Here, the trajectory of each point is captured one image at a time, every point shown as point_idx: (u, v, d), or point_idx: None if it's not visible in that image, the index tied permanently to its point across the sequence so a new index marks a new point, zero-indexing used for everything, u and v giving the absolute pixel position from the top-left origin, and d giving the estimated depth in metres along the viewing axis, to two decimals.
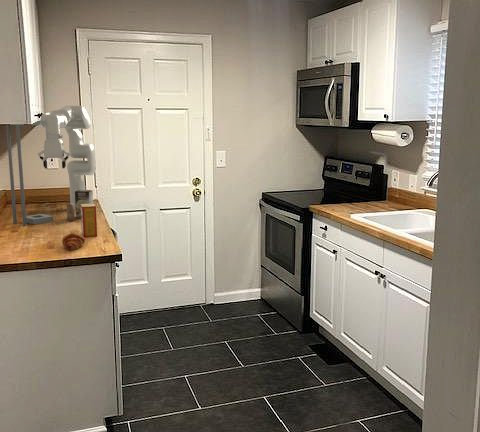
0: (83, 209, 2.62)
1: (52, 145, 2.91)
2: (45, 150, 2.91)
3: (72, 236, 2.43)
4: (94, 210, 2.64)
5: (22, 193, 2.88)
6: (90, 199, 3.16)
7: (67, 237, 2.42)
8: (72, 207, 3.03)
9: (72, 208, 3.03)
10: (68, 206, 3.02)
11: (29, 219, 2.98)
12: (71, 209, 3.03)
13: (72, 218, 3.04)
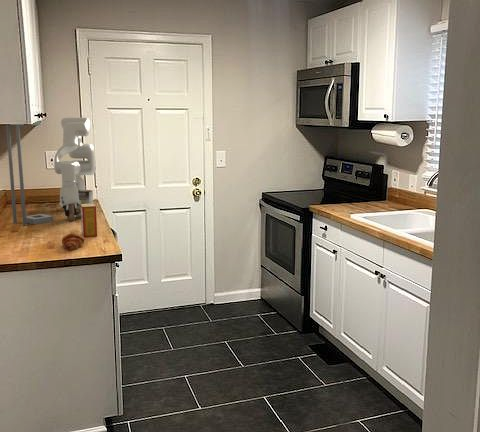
0: (83, 209, 2.62)
1: (72, 192, 3.01)
2: (66, 197, 2.99)
3: (71, 236, 2.43)
4: (94, 210, 2.64)
5: (22, 193, 2.88)
6: (90, 199, 3.16)
7: (66, 237, 2.42)
8: (72, 207, 3.03)
9: (72, 208, 3.03)
10: (68, 206, 3.02)
11: (29, 219, 2.98)
12: (71, 209, 3.03)
13: (72, 218, 3.04)
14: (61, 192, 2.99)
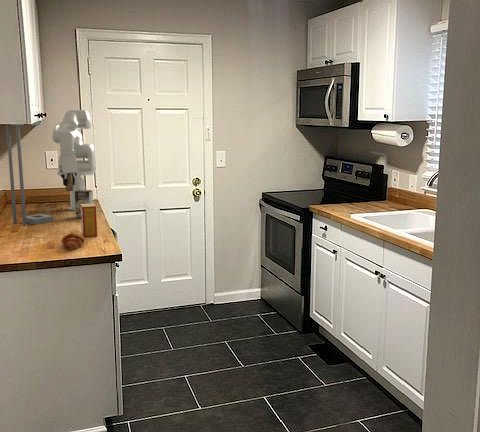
0: (83, 209, 2.62)
1: (70, 160, 2.98)
2: (64, 166, 2.96)
3: (71, 236, 2.43)
4: (94, 210, 2.64)
5: (22, 193, 2.88)
6: (90, 199, 3.16)
7: (66, 237, 2.42)
8: (70, 176, 3.00)
9: (70, 177, 3.00)
10: None
11: (29, 219, 2.98)
12: (69, 178, 3.00)
13: (70, 187, 3.01)
14: (59, 161, 2.96)
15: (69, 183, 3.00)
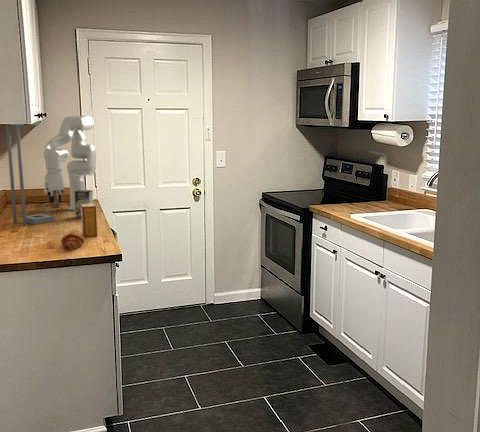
0: (83, 209, 2.62)
1: (56, 178, 3.07)
2: (50, 184, 3.04)
3: (71, 236, 2.43)
4: (94, 210, 2.64)
5: (22, 193, 2.88)
6: (90, 199, 3.16)
7: (66, 237, 2.42)
8: (57, 194, 3.09)
9: (57, 195, 3.09)
10: (53, 193, 3.08)
11: (29, 219, 2.98)
12: (56, 196, 3.08)
13: (56, 204, 3.10)
14: (46, 179, 3.05)
15: (55, 200, 3.09)
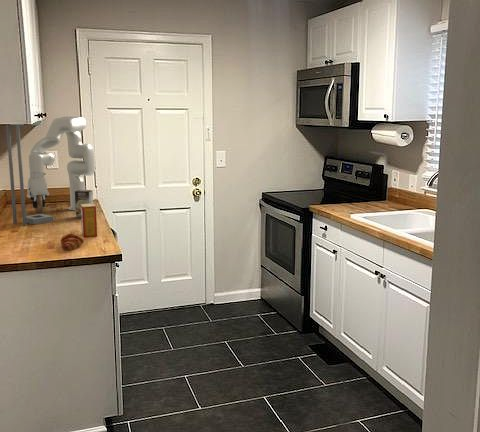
0: (83, 209, 2.62)
1: (40, 183, 2.99)
2: (33, 188, 2.96)
3: (70, 236, 2.43)
4: (94, 210, 2.64)
5: (22, 193, 2.88)
6: (90, 199, 3.16)
7: (65, 237, 2.42)
8: (40, 198, 3.01)
9: (40, 199, 3.01)
10: (36, 197, 3.00)
11: (29, 219, 2.98)
12: (39, 200, 3.01)
13: (40, 210, 3.02)
14: (28, 183, 2.97)
15: (39, 205, 3.01)
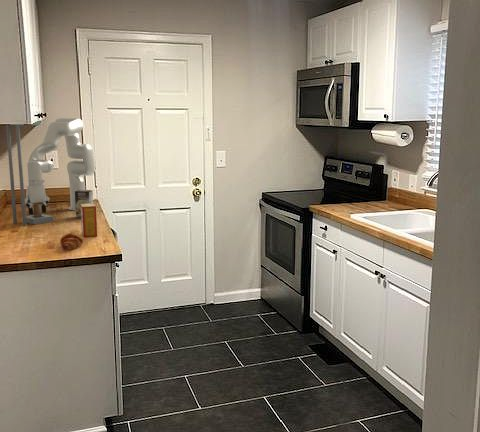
0: (83, 209, 2.62)
1: (38, 190, 2.99)
2: (32, 196, 2.96)
3: (70, 236, 2.43)
4: (94, 210, 2.64)
5: (22, 193, 2.88)
6: (90, 199, 3.16)
7: (65, 237, 2.42)
8: (39, 207, 3.01)
9: (39, 208, 3.01)
10: (35, 206, 3.00)
11: (29, 219, 2.98)
12: (38, 209, 3.01)
13: None
14: (27, 191, 2.97)
15: (37, 214, 3.01)
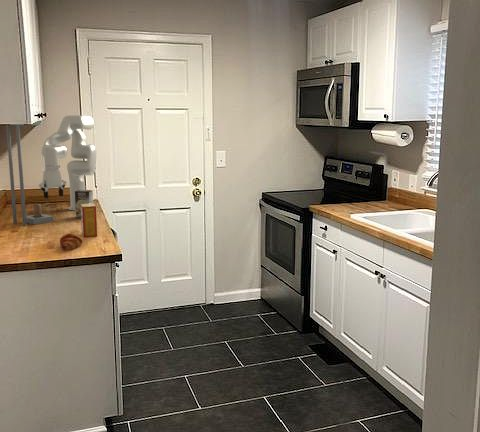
0: (83, 209, 2.62)
1: (54, 175, 3.06)
2: (48, 181, 3.04)
3: (69, 236, 2.43)
4: (94, 210, 2.64)
5: (22, 193, 2.88)
6: (90, 199, 3.16)
7: (64, 237, 2.42)
8: (39, 207, 3.01)
9: (39, 208, 3.01)
10: (35, 206, 3.00)
11: (29, 219, 2.98)
12: (38, 209, 3.01)
13: None
14: (44, 176, 3.04)
15: (37, 214, 3.01)
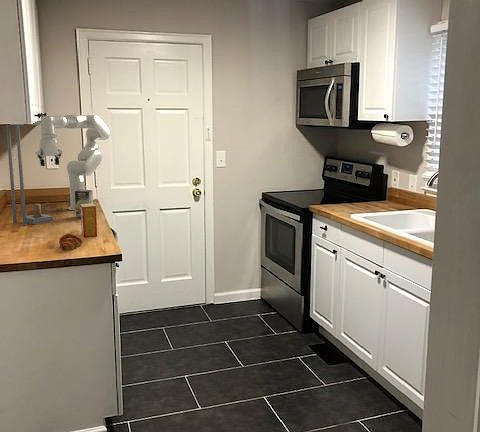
0: (83, 209, 2.62)
1: (51, 144, 3.16)
2: (45, 149, 3.14)
3: (68, 236, 2.43)
4: (94, 210, 2.64)
5: (22, 193, 2.88)
6: (90, 199, 3.16)
7: (63, 237, 2.42)
8: (39, 207, 3.01)
9: (39, 208, 3.01)
10: (34, 206, 3.00)
11: (29, 219, 2.98)
12: (38, 209, 3.01)
13: None
14: (40, 144, 3.14)
15: (37, 214, 3.01)
